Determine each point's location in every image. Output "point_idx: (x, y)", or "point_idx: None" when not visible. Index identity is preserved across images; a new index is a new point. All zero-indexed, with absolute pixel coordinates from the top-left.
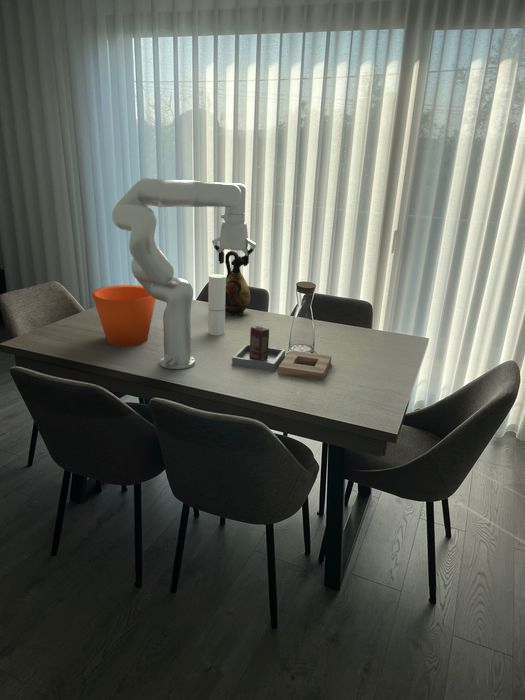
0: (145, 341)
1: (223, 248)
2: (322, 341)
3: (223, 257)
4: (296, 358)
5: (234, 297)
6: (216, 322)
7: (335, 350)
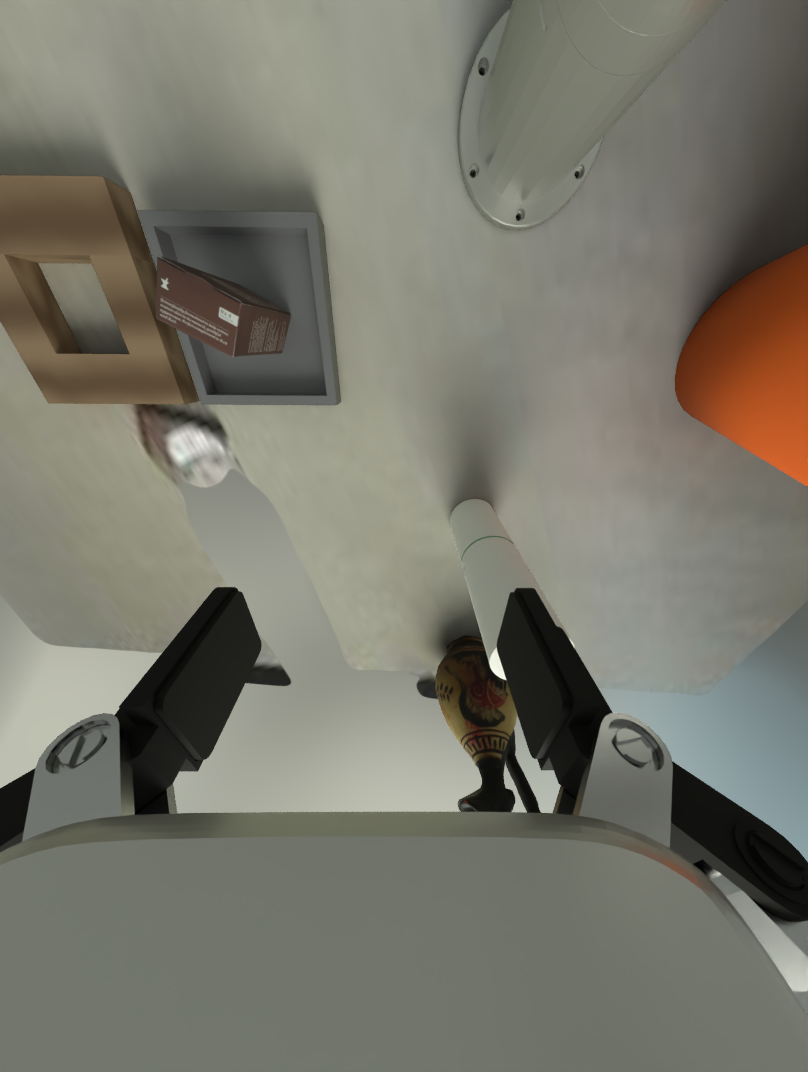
0: (681, 353)
1: (582, 830)
2: (201, 556)
3: (516, 687)
4: (124, 334)
5: (469, 673)
6: (474, 518)
7: (135, 508)
